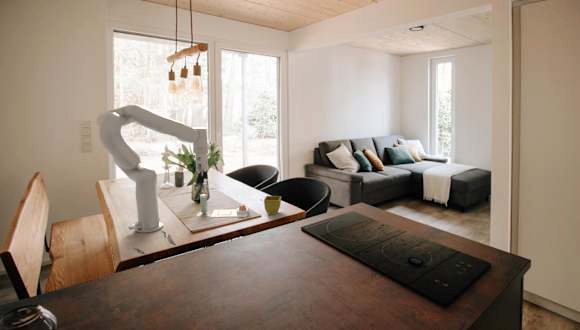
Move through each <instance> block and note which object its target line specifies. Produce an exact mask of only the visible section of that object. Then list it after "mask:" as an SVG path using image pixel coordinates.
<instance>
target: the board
mask: <svg viewBox="0 0 580 330" xmlns="http://www.w3.org/2000/svg"><path fill="white" fill-rule="evenodd" d="M245 209H246V210H239V207H237V208H236V209H234V208H233V209H213V212H211V214H210V216H209V218H238V217H243V218H248V216H247V215H249V207H247V206H246V207H245Z"/></svg>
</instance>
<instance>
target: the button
mask: <svg viewBox="0 0 580 330" xmlns="http://www.w3.org/2000/svg"><path fill="white" fill-rule="evenodd" d="M238 208H239V210H246V209H245V208H246V204H239V207H238Z"/></svg>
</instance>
